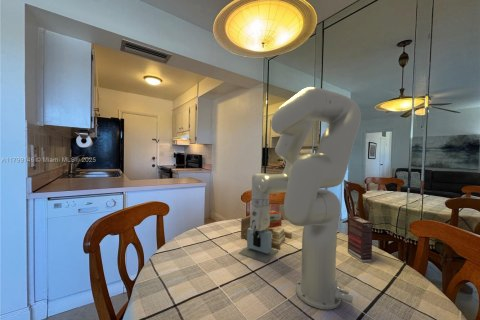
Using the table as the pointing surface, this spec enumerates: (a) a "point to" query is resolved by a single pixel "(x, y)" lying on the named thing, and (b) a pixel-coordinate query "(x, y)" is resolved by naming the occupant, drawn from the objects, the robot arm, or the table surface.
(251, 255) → the mat
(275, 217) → the medicine box
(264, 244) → the grey blue block
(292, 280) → the table surface
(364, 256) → the supplement box
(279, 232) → the offcut stack
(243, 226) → the rack
